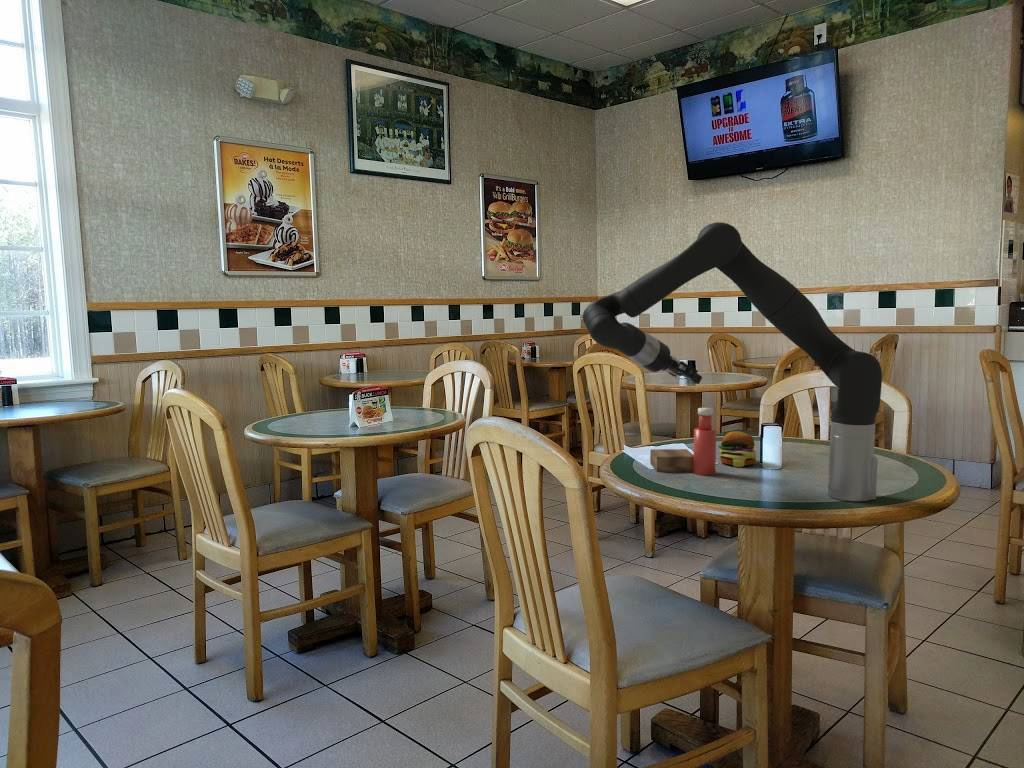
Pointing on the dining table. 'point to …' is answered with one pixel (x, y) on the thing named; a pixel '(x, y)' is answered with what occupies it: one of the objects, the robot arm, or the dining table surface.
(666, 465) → the walnut block
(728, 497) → the dining table surface
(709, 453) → the ketchup bottle
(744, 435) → the cheeseburger
